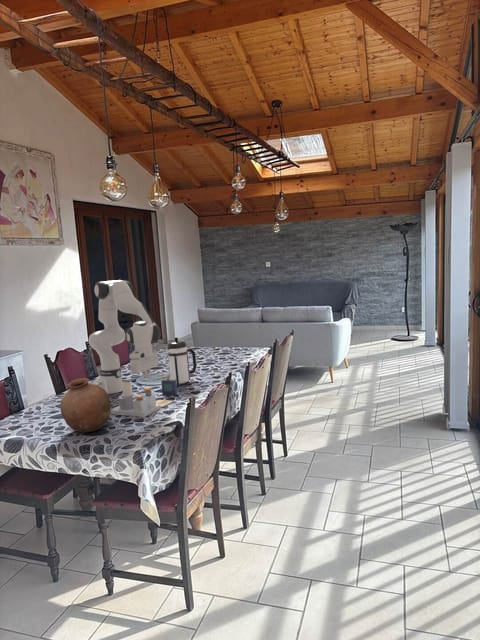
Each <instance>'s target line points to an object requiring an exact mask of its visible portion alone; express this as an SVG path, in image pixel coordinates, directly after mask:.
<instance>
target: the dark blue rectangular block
mask: <svg viewBox="0 0 480 640" xmlns="http://www.w3.org/2000/svg"><path fill="white" fill-rule="evenodd" d="M160 381H161V389H162V390H161V393H162V395H163V396H176V395H178V387H177V384H176V379H172V380H170V376H167V377H166V378H163V379H161V380H160Z"/></svg>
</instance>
